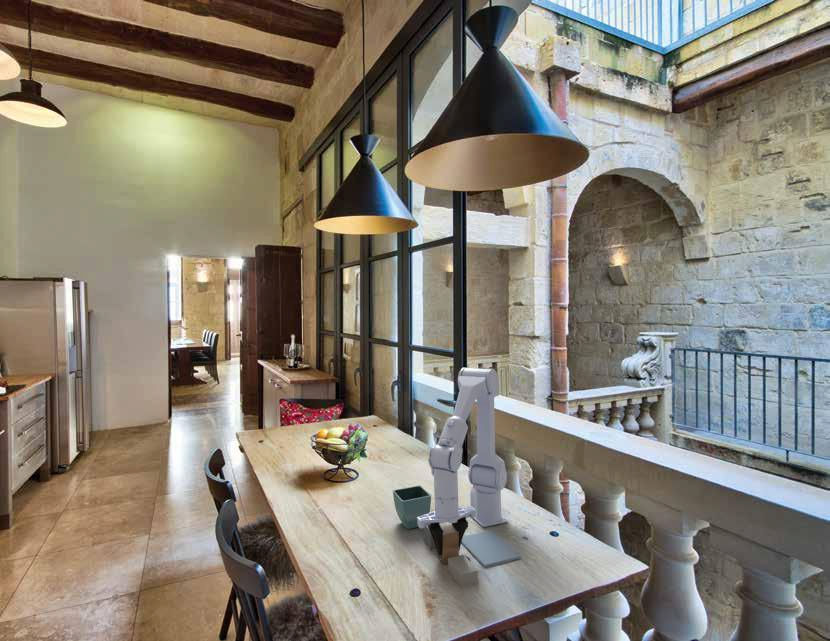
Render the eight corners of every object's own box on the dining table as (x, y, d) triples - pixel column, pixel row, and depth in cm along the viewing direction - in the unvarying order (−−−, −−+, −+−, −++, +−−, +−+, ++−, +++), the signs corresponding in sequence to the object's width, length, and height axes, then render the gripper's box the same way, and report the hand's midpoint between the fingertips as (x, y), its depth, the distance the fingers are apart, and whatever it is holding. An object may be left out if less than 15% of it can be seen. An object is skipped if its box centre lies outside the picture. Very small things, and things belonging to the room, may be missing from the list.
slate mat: (458, 539, 117) (458, 537, 117) (491, 532, 120) (491, 530, 120) (484, 567, 103) (484, 565, 103) (521, 558, 107) (521, 555, 107)
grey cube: (423, 541, 116) (423, 522, 116) (441, 537, 118) (440, 518, 118) (430, 550, 112) (430, 530, 112) (449, 546, 114) (448, 527, 113)
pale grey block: (448, 571, 103) (448, 558, 103) (464, 567, 104) (463, 554, 104) (461, 588, 96) (461, 574, 96) (478, 583, 98) (477, 570, 98)
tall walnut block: (437, 555, 109) (436, 527, 109) (452, 552, 110) (451, 524, 110) (443, 564, 105) (443, 534, 105) (459, 560, 107) (458, 531, 107)
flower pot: (392, 520, 129) (391, 489, 129) (421, 515, 132) (420, 484, 132) (402, 534, 120) (401, 501, 120) (432, 528, 123) (432, 495, 123)
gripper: (424, 506, 102) (426, 566, 102) (480, 496, 106) (482, 552, 107) (413, 495, 108) (415, 551, 108) (467, 485, 113) (469, 539, 113)
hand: (447, 551), depth 108 cm, fingers closed on tall walnut block, 4 cm apart
